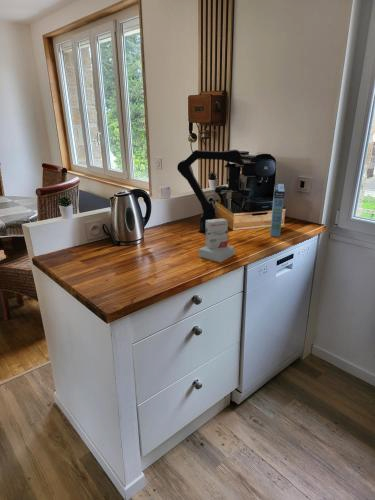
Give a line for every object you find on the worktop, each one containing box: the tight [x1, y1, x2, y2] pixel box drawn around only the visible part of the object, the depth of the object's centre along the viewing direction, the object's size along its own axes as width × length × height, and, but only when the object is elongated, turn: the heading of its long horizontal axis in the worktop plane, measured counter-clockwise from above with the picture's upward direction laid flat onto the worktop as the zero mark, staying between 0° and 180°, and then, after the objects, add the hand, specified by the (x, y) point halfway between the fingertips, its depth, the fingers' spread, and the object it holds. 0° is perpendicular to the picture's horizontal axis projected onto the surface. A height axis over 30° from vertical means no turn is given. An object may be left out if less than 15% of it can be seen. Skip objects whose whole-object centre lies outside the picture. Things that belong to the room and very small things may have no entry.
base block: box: [198, 244, 235, 263], centre depth 146 cm, size 11×11×4 cm
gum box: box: [270, 183, 286, 238], centre depth 172 cm, size 20×5×23 cm, turn 166°
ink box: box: [205, 218, 229, 249], centre depth 145 cm, size 9×5×12 cm, turn 106°
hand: (233, 207), depth 171 cm, fingers open, 9 cm apart
